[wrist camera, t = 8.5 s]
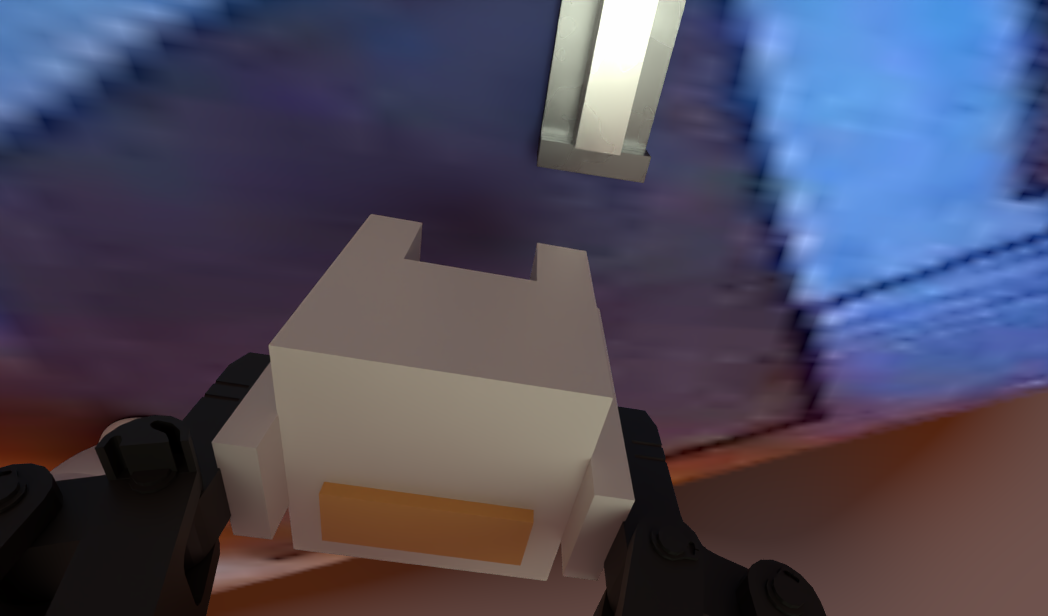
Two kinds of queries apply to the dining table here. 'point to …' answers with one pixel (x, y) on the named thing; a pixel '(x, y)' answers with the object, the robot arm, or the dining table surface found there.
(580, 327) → the block
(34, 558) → the robot arm
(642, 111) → the rail
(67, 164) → the dining table surface
